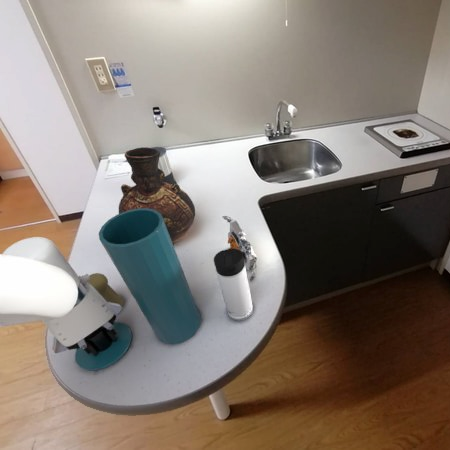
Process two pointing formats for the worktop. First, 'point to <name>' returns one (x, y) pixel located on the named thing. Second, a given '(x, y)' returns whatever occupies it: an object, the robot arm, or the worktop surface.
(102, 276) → the cork
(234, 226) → the meal
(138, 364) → the worktop surface
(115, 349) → the lid
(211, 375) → the worktop surface
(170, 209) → the ceramic vessel
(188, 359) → the worktop surface
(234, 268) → the travel mug
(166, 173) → the milk frother
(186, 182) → the worktop surface
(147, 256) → the teal faceted tube
